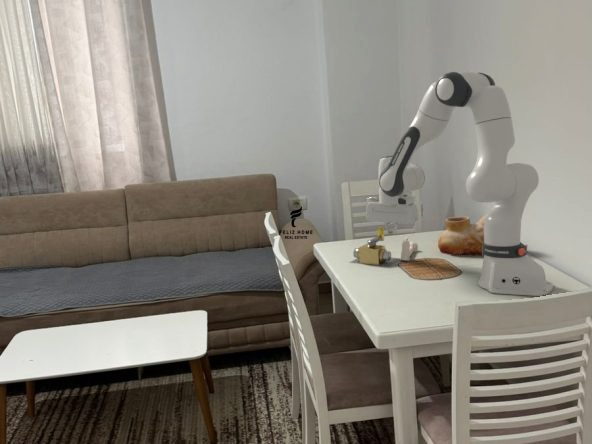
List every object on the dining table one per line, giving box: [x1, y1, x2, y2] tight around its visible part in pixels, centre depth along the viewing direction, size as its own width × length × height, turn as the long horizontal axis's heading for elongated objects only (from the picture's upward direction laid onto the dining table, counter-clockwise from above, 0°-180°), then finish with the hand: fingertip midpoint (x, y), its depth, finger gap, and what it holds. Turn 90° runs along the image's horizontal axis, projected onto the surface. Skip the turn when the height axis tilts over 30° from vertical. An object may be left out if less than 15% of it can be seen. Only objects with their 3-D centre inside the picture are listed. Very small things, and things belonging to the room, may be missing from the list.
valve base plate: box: [349, 257, 401, 268], centre depth 235 cm, size 16×12×1 cm
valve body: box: [353, 243, 392, 266], centre depth 233 cm, size 14×6×6 cm, turn 57°
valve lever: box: [367, 226, 385, 247], centre depth 235 cm, size 11×3×6 cm, turn 147°
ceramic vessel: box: [437, 213, 488, 257], centre depth 240 cm, size 14×26×15 cm, turn 82°
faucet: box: [400, 235, 419, 262], centre depth 240 cm, size 4×18×10 cm, turn 158°
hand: (391, 233), depth 235 cm, fingers closed
